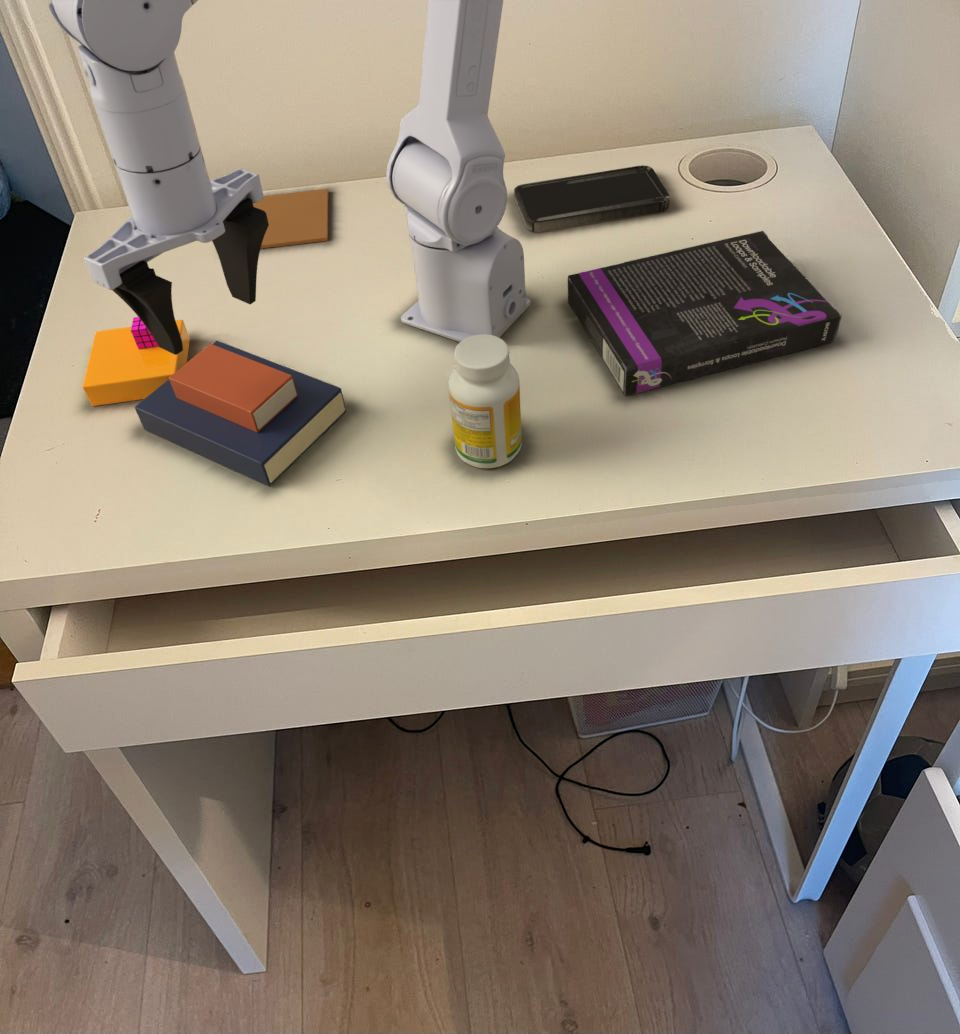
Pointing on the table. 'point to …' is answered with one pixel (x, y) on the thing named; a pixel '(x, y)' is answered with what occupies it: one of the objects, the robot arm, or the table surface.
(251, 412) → the paperback
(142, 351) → the flat orange square block
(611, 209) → the phone
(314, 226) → the desk pad
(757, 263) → the box
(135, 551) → the table surface
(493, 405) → the supplement bottle
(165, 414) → the hardcover
